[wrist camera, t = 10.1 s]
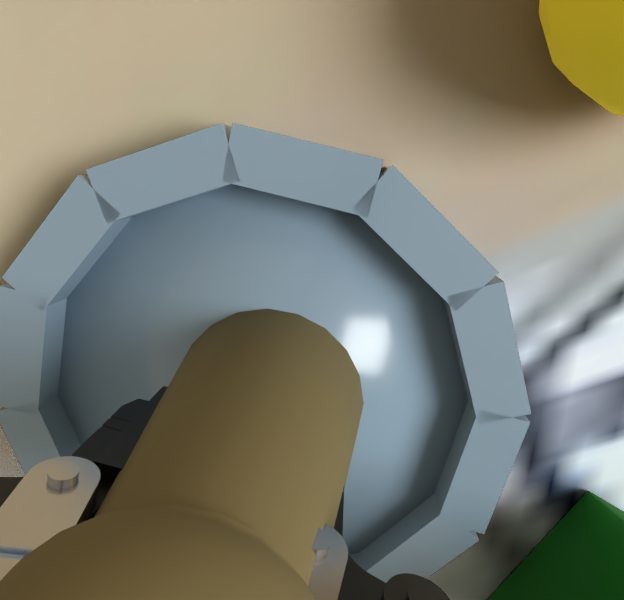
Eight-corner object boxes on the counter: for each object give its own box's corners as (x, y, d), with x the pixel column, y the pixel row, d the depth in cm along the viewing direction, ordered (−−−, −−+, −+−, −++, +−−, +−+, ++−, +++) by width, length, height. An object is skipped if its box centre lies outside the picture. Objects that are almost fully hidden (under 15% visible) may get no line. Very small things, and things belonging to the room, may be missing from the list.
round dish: (53, 82, 14) (10, 68, 12) (581, 211, 13) (615, 216, 12) (20, 517, 18) (-16, 553, 16) (419, 625, 18) (426, 673, 16)
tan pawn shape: (158, 447, 16) (-258, 1009, 5) (204, 281, 14) (-257, 578, 3) (327, 505, 16) (276, 1195, 5) (391, 345, 14) (516, 844, 3)
